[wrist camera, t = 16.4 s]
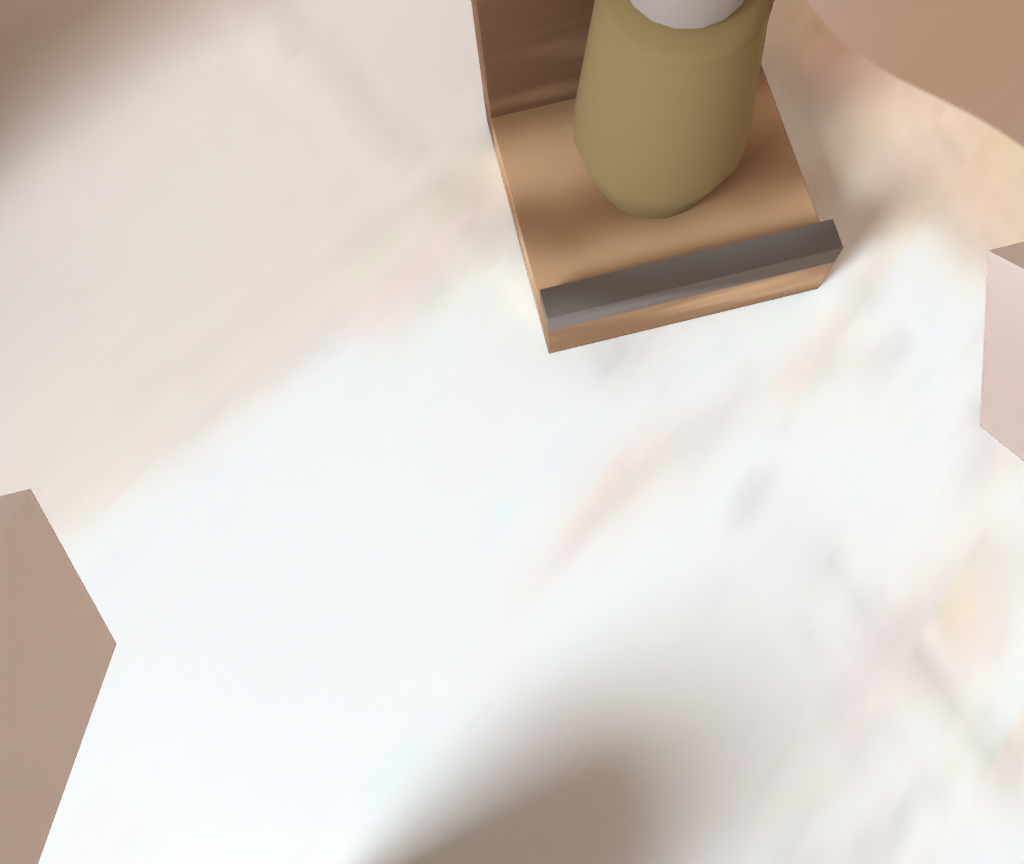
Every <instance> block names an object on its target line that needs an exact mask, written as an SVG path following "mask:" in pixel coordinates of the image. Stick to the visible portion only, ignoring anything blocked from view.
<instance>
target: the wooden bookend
mask: <svg viewBox="0 0 1024 864" xmlns="http://www.w3.org/2000/svg"><path fill="white" fill-rule="evenodd" d="M594 1H595V0H471V2H472V9H473V17H474V25H475V32H476V40H477V47H478V55H479V63H480V70H481V78H482V85H483V93H484V101H485V108H486V116H487V122H488V126H489V129H490V133H491V137H492V141H493V144H494V148H495V152H496V156H497V160H498V163H499V167H500V171H501V175H502V178H503V182H504V186H505V190H506V193H507V197H508V201H509V205H510V208H511V212H512V216H513V220H514V224H515V227H516V231H517V235H518V239H519V242H520V246H521V250H522V254H523V257H524V261H525V265H526V269H527V273H528V276H529V280H530V284H531V288H532V291H533V295H534V299H535V303H536V306H537V310H538V314H539V318H540V322H541V325H542V329H543V333H544V337H545V340H546V344H547V348H548V352H549V353H553V352H557V351H561V350H566V349H570V348H574V347H578V346H582V345H586V344H590V343H595V342H599V341H603V340H607V339H611V338H615V337H619V336H624V335H628V334H632V333H636V332H640V331H644V330H648V329H653V328H657V327H661V326H665V325H669V324H673V323H677V322H681V321H686V320H690V319H694V318H698V317H702V316H706V315H710V314H715V313H719V312H723V311H727V310H731V309H735V308H739V307H744V306H748V305H752V304H756V303H760V302H764V301H768V300H773V299H777V298H781V297H785V296H789V295H793V294H797V293H802V292H806V291H810V290H814V289H818V287H819V286H820V284H821V282H822V281H823V279H824V277H825V276H826V274H827V273H828V271H829V269H830V268H831V266H832V265H833V263H834V261H835V260H836V258H837V257H838V255H839V253H840V252H841V250H842V249H843V246H842V243H841V240H840V238H839V235H838V232H837V230H836V227H835V224H834V222H833V219H831V220H827V221H823V222H819V220H818V217H817V214H816V212H815V209H814V206H813V204H812V201H811V198H810V196H809V193H808V190H807V187H806V185H805V182H804V179H803V177H802V174H801V171H800V168H799V166H798V163H797V160H796V158H795V155H794V152H793V150H792V147H791V144H790V141H789V139H788V136H787V133H786V131H785V128H784V125H783V122H782V120H781V117H780V114H779V112H778V109H777V106H776V104H775V101H774V98H773V95H772V93H771V90H770V87H769V85H768V82H767V79H766V76H765V74H764V71H763V68H762V66H761V67H760V73H759V79H758V85H757V92H756V98H755V104H754V110H753V116H752V123H751V129H750V135H749V140H748V143H747V145H746V147H745V150H744V152H743V154H742V157H741V159H740V161H739V164H738V166H737V168H736V169H735V170H734V171H733V172H732V173H731V174H730V175H729V176H727V177H726V178H725V179H724V180H723V181H722V182H721V183H720V184H719V185H717V186H716V187H715V188H714V189H713V190H712V191H711V192H710V193H708V194H707V195H706V196H705V197H704V198H702V199H701V200H700V201H699V202H697V203H696V204H695V205H694V206H693V207H691V208H690V209H689V210H688V211H685V212H682V213H680V214H677V215H674V216H672V217H669V218H666V219H642V218H639V217H636V216H634V215H631V214H628V213H626V212H623V211H620V210H619V209H618V208H617V207H616V206H614V205H613V204H612V203H611V202H610V201H609V200H608V199H607V198H605V197H604V196H603V194H602V193H601V191H600V189H599V188H598V186H597V185H596V183H595V181H594V180H593V178H592V177H591V175H590V173H589V172H588V170H587V169H586V167H585V164H584V162H583V160H582V158H581V156H580V154H579V151H578V149H577V147H576V145H575V143H574V141H573V132H574V107H575V101H576V96H577V91H578V85H579V80H580V75H581V70H582V64H583V59H584V54H585V48H586V43H587V38H588V33H589V27H590V22H591V17H592V11H593V6H594ZM773 2H774V0H769V15H770V12H771V9H772V6H773ZM768 19H769V17H768Z"/></svg>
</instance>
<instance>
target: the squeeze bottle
mask: <svg viewBox="0 0 1024 864" xmlns="http://www.w3.org/2000/svg"><path fill="white" fill-rule="evenodd" d="M768 17H769V0H595V1H594V6H593V11H592V17H591V22H590V27H589V33H588V38H587V43H586V48H585V54H584V59H583V64H582V70H581V75H580V80H579V85H578V91H577V96H576V101H575V107H574V132H573V141H574V143H575V145H576V147H577V149H578V151H579V154H580V156H581V158H582V160H583V162H584V164H585V167H586V169H587V170H588V172H589V173H590V175H591V177H592V178H593V180H594V181H595V183H596V185H597V186H598V188H599V189H600V191H601V193H602V194H603V196H604V197H605V198H607V199H608V200H609V201H610V202H611V203H612V204H613V205H614V206H616V207H617V208H618V209H619V210H620V211H623V212H626V213H628V214H631V215H634V216H636V217H639V218H642V219H666V218H669V217H672V216H674V215H677V214H680V213H682V212H685V211H688V210H689V209H690V208H691V207H693V206H694V205H695V204H696V203H697V202H699V201H700V200H701V199H702V198H704V197H705V196H706V195H707V194H708V193H710V192H711V191H712V190H713V189H714V188H715V187H716V186H717V185H719V184H720V183H721V182H722V181H723V180H724V179H725V178H726V177H727V176H729V175H730V174H731V173H732V172H733V171H734V170H735V169H736V168H737V166H738V164H739V161H740V159H741V157H742V154H743V152H744V150H745V147H746V145H747V143H748V140H749V135H750V129H751V123H752V116H753V110H754V104H755V98H756V92H757V85H758V79H759V73H760V67H761V60H762V54H763V48H764V42H765V36H766V29H767V23H768Z"/></svg>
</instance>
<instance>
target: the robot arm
mask: <svg viewBox="0 0 1024 864" xmlns="http://www.w3.org/2000/svg"><path fill="white" fill-rule="evenodd" d="M980 426H981V427H982V428H983V429H984V430H986V431H987V432H988V433H989V434H991V435H992V436H993V437H994V438H996V439H997V440H998V441H999V442H1000V443H1002V444H1003V445H1004V446H1005V447H1007V448H1008V449H1009V450H1010V451H1012V452H1013V453H1014V454H1015V455H1017V456H1018V457H1019V458H1020V459H1021V460H1023V461H1024V242H1021V243H1017V244H1013V245H1009V246H1005V247H1001V248H997V249H993V250H989V251H988V265H987V286H986V308H985V329H984V350H983V372H982V393H981V415H980ZM115 646H116V642H115V640H114V639H113V637H112V635H111V633H110V631H109V630H108V628H107V626H106V624H105V622H104V621H103V619H102V617H101V615H100V613H99V612H98V610H97V608H96V606H95V604H94V602H93V601H92V599H91V597H90V595H89V593H88V592H87V590H86V588H85V586H84V584H83V583H82V581H81V579H80V577H79V575H78V574H77V572H76V570H75V568H74V566H73V565H72V563H71V561H70V559H69V557H68V556H67V554H66V552H65V550H64V548H63V546H62V545H61V543H60V541H59V539H58V537H57V536H56V534H55V532H54V530H53V528H52V527H51V525H50V523H49V521H48V519H47V518H46V516H45V514H44V512H43V510H42V509H41V507H40V505H39V503H38V501H37V499H36V498H35V496H34V494H33V492H32V490H31V489H28V490H24V491H20V492H16V493H12V494H8V495H4V496H0V864H38V862H39V859H40V856H41V854H42V851H43V848H44V845H45V842H46V840H47V837H48V834H49V831H50V828H51V826H52V823H53V820H54V817H55V814H56V812H57V809H58V806H59V803H60V800H61V798H62V795H63V792H64V789H65V786H66V783H67V781H68V778H69V775H70V772H71V769H72V767H73V764H74V761H75V758H76V755H77V753H78V750H79V747H80V744H81V741H82V739H83V736H84V733H85V730H86V727H87V725H88V722H89V719H90V716H91V713H92V711H93V708H94V705H95V702H96V699H97V697H98V694H99V691H100V688H101V685H102V683H103V680H104V677H105V674H106V671H107V669H108V666H109V663H110V660H111V657H112V654H113V652H114V649H115Z"/></svg>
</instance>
